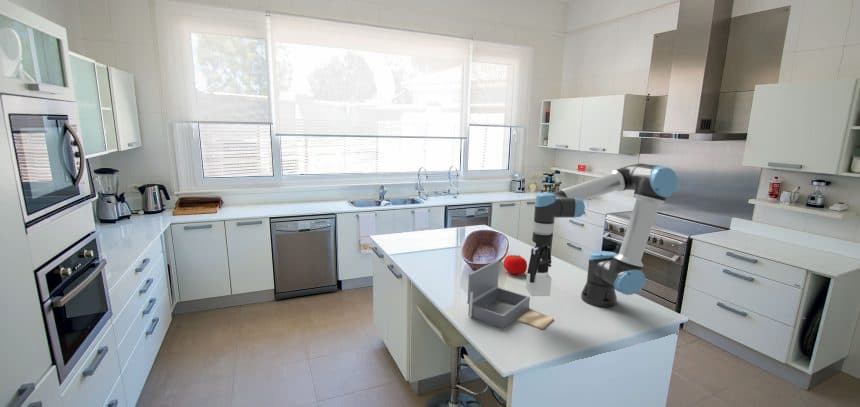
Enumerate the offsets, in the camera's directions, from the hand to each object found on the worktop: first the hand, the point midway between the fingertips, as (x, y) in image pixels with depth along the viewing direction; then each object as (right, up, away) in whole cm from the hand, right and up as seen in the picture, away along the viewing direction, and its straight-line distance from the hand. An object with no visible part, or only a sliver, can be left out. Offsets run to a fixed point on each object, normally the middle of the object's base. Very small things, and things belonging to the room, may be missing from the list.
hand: (538, 285), depth 157 cm
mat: (0, -15, +3) cm, 15 cm away
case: (-14, -13, +10) cm, 21 cm away
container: (0, -3, +1) cm, 3 cm away
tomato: (+3, -5, +55) cm, 55 cm away
